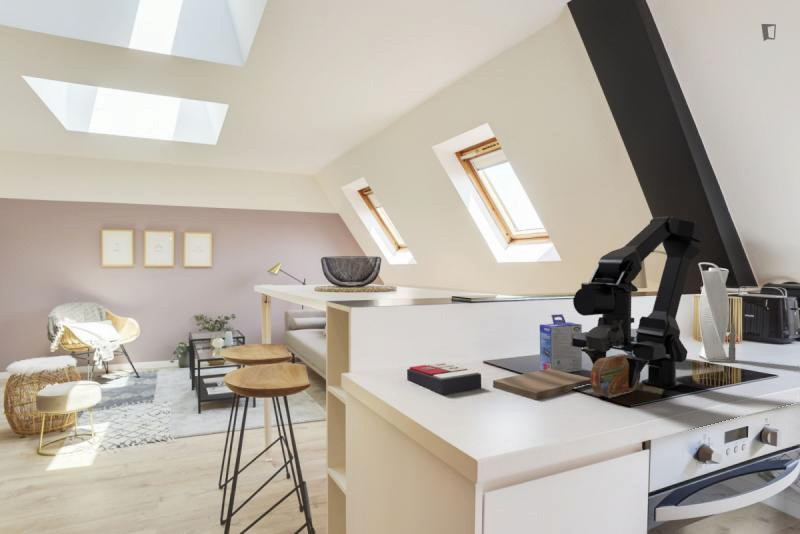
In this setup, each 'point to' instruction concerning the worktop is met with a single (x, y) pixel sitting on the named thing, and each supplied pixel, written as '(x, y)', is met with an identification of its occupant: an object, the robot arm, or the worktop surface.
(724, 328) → the skyscraper
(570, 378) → the walnut board
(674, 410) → the worktop surface
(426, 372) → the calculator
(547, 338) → the ink cartridge box
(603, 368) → the tin
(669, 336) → the robot arm
